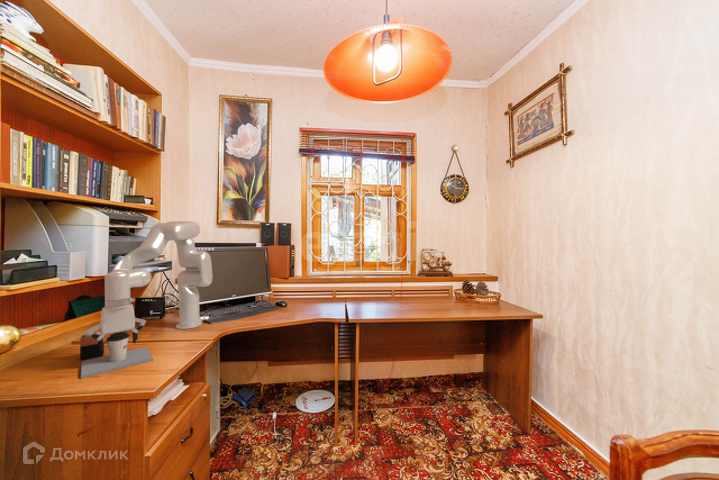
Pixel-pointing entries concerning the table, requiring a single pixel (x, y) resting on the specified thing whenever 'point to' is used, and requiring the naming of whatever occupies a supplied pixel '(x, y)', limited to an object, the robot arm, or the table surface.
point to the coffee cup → (117, 346)
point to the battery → (90, 347)
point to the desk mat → (106, 365)
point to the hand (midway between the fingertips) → (118, 345)
